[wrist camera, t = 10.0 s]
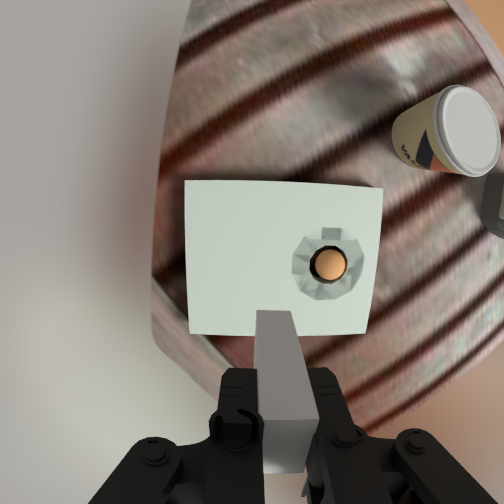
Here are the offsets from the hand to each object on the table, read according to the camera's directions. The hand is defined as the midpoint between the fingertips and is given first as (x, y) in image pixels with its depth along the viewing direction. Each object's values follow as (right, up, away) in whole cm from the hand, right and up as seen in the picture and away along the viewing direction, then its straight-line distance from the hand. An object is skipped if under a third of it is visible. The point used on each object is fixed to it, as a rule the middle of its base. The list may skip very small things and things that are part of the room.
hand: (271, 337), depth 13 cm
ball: (+8, +2, +21) cm, 22 cm away
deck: (+3, +3, +22) cm, 23 cm away
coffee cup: (+20, +18, +19) cm, 33 cm away
